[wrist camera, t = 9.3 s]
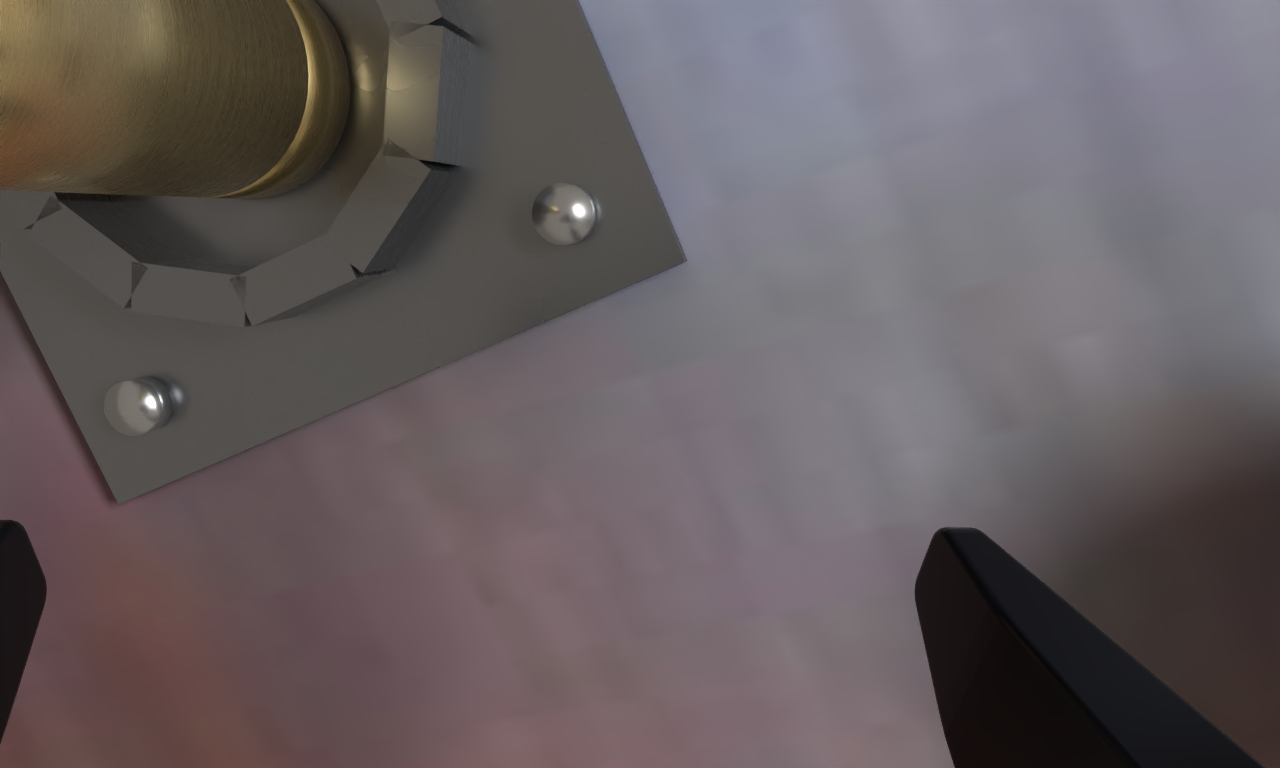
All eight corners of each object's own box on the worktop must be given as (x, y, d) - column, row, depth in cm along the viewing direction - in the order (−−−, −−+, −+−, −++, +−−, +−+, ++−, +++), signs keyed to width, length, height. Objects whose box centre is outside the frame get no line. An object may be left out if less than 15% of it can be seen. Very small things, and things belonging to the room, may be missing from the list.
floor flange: (687, 260, 19) (678, 265, 17) (135, 497, 22) (67, 527, 20) (401, -424, 18) (352, -510, 16) (-157, -84, 20) (-263, -119, 18)
